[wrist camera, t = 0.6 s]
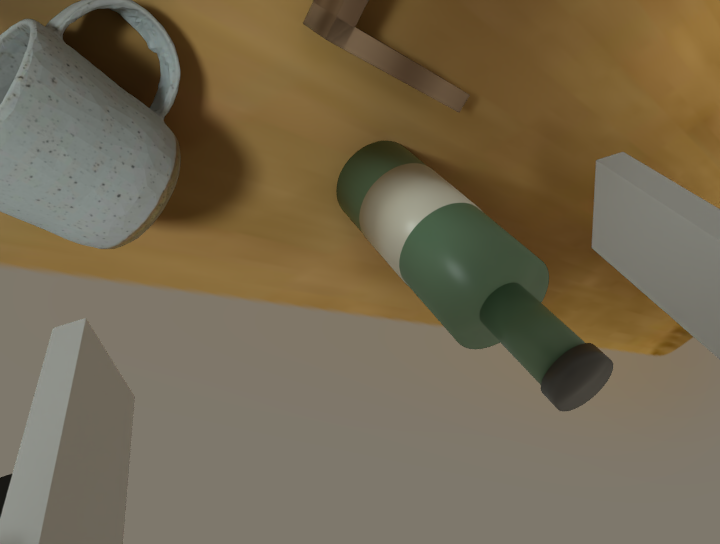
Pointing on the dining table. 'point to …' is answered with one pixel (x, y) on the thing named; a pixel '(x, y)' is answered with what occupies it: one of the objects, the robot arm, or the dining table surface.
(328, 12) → the u rest
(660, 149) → the dining table surface
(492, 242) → the bottle
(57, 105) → the ceramic mug
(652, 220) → the robot arm
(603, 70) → the dining table surface
